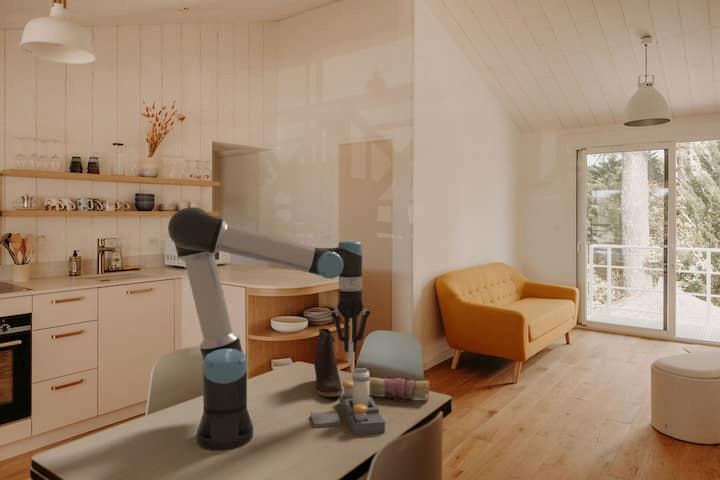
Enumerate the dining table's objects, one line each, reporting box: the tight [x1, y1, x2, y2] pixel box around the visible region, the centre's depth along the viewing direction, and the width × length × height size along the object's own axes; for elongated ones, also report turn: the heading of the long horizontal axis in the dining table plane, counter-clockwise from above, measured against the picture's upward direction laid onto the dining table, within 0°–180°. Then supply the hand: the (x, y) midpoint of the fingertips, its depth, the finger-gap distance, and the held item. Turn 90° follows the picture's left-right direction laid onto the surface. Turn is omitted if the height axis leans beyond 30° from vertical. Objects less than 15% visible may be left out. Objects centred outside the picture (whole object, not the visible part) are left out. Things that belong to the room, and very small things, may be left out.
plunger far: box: [342, 380, 353, 399], centre depth 161 cm, size 4×4×5 cm
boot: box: [313, 328, 343, 398], centre depth 177 cm, size 9×24×20 cm, turn 16°
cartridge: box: [352, 367, 371, 408], centre depth 153 cm, size 5×5×15 cm
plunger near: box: [353, 404, 368, 422], centre depth 145 cm, size 4×4×5 cm
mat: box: [310, 411, 342, 428], centre depth 150 cm, size 8×8×1 cm
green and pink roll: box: [369, 376, 430, 402], centre depth 169 cm, size 8×8×20 cm
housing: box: [339, 393, 386, 436], centre depth 154 cm, size 9×24×4 cm, turn 12°
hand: (350, 361), depth 161 cm, fingers closed
